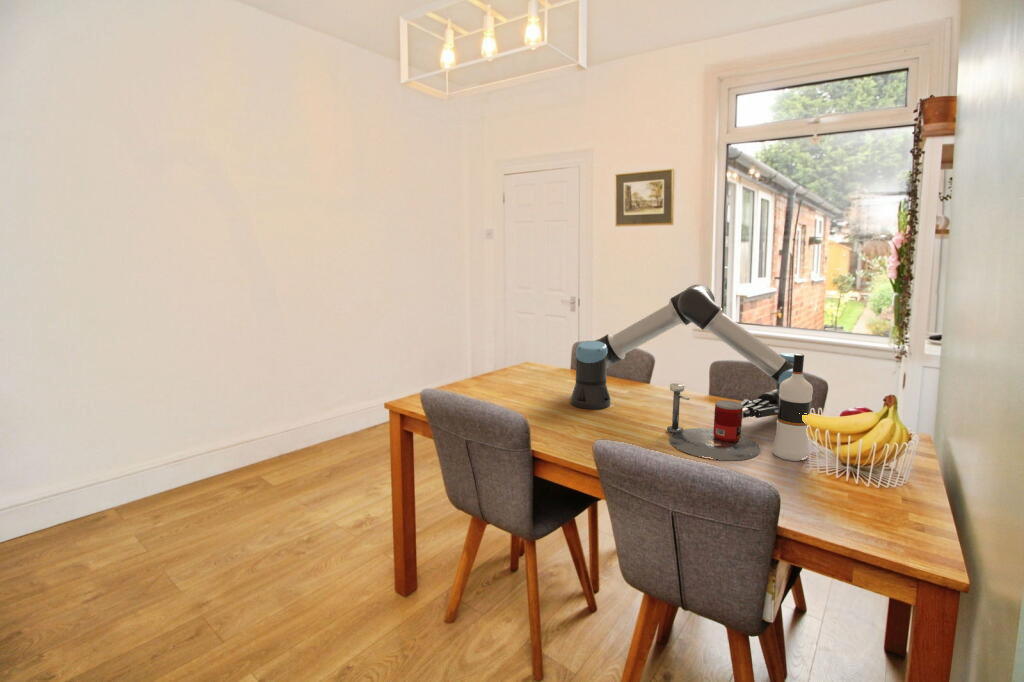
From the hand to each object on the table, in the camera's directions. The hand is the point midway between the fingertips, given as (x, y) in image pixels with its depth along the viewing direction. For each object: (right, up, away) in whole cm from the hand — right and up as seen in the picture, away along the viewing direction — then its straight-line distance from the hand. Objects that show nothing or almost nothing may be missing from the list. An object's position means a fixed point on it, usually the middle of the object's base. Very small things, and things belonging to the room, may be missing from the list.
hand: (735, 416), depth 168 cm
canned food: (-3, -7, -1) cm, 8 cm away
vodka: (+9, -10, -15) cm, 20 cm away
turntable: (-9, -8, -6) cm, 13 cm away
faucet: (-18, -6, +5) cm, 19 cm away
